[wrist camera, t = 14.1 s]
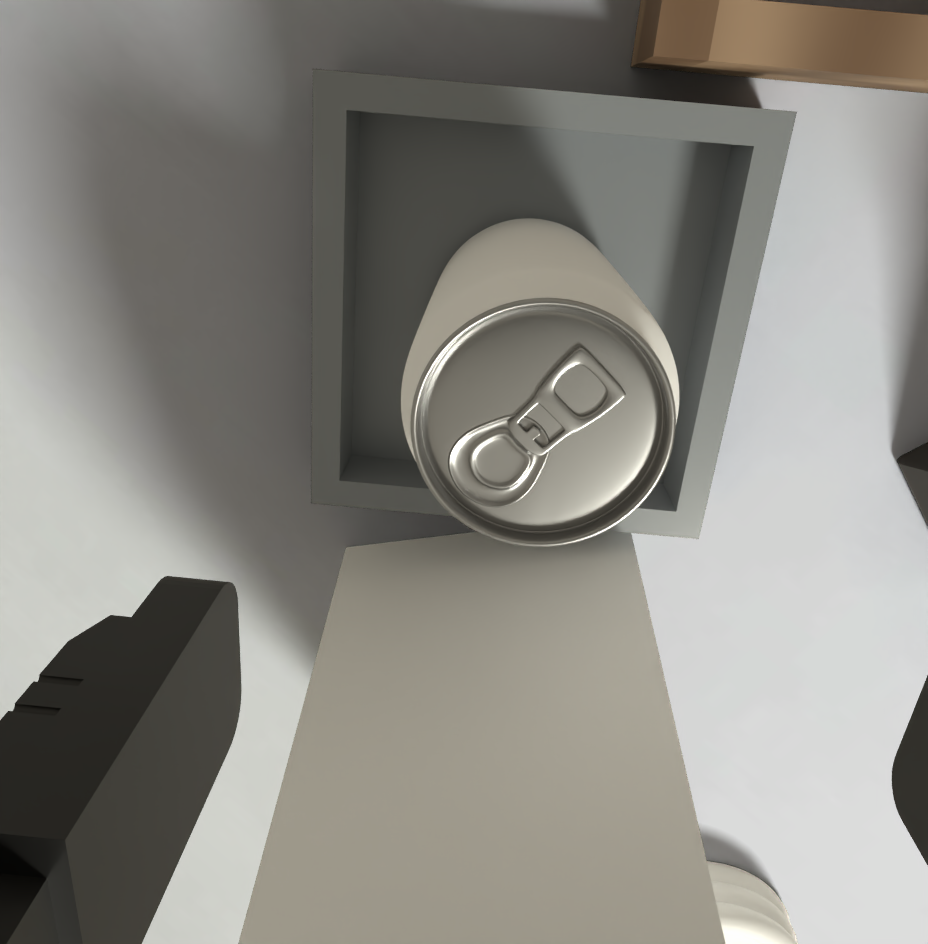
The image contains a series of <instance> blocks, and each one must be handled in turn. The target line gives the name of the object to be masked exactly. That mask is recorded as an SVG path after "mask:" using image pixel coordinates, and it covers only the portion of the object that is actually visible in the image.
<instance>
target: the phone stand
mask: <svg viewBox="0 0 928 944" xmlns="http://www.w3.org/2000/svg"><path fill="white" fill-rule="evenodd" d="M897 462H898V464H899V466H900V468H901V470H902V472H903V474H904V476H905V479H906V481H907V483H908V485H909V487H910V489H911V491H912V493H913V495H914V497H915V499H916V502H917V504H918V506H919V508H920V510H921V512H922V514H923V516H924V518H925V520H926V522H927V525H928V443H926V444H924V445H922V446H920V447H918V448H916V449H914V450H912V451H910V452H908V453H906V454H904V455H902V456H900V457H899V458H898V461H897Z"/></svg>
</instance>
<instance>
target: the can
mask: <svg viewBox="0 0 928 944" xmlns="http://www.w3.org/2000/svg"><path fill="white" fill-rule="evenodd" d="M678 411H679V381H678V374H677V369H676V365H675V361H674V358H673V355H672V352H671V349H670V346H669V344H668V342H667V339H666V337H665V335H664V333H663V332H662V330H661V328H660V327H659V325H658V323H657V322H656V320H655V319H654V317H653V316H652V314H651V313H650V312H649V310H648V309H647V308H646V306H645V305H644V304H643V303H642V301H641V300H640V299H639V297H638V296H637V295H636V294H635V293H634V291H633V290H632V289H631V288H630V286H629V285H628V284H627V283H626V282H625V280H624V279H623V278H622V277H621V276H620V274H619V273H618V272H617V271H616V270H615V268H614V267H613V266H612V265H611V264H610V263H609V261H608V260H607V259H606V258H605V257H604V256H603V254H602V253H601V252H600V251H599V250H598V249H597V248H596V247H595V246H594V245H593V244H592V243H591V242H590V241H588V240H587V239H586V238H585V237H584V236H582V235H581V234H579V233H578V232H576V231H574V230H573V229H571V228H569V227H567V226H564V225H562V224H559V223H556V222H552V221H548V220H543V219H534V218H523V219H514V220H508V221H504V222H501V223H498V224H495V225H492V226H490V227H488V228H486V229H484V230H482V231H480V232H479V233H477V234H476V235H474V236H473V237H471V238H470V239H469V240H468V241H466V242H465V243H464V244H463V245H462V246H461V247H460V248H459V249H458V250H457V251H456V253H455V254H454V255H453V256H452V258H451V259H450V260H449V262H448V264H447V265H446V267H445V269H444V270H443V272H442V274H441V276H440V278H439V280H438V283H437V285H436V287H435V290H434V292H433V294H432V297H431V299H430V301H429V304H428V306H427V308H426V311H425V313H424V316H423V318H422V321H421V323H420V326H419V328H418V330H417V333H416V336H415V338H414V341H413V344H412V346H411V349H410V352H409V355H408V358H407V362H406V365H405V369H404V374H403V379H402V388H401V414H402V422H403V427H404V432H405V436H406V439H407V442H408V445H409V448H410V450H411V452H412V455H413V457H414V459H415V461H416V462H417V465H418V468H419V470H420V473H421V475H422V477H423V479H424V481H425V483H426V484H427V486H428V488H429V489H430V491H431V492H432V494H433V495H434V496H435V498H436V499H437V500H438V501H439V503H440V504H441V505H442V506H443V507H444V508H445V509H446V510H447V511H448V512H449V513H450V514H451V515H453V516H454V517H455V518H456V519H457V520H459V521H460V522H462V523H463V524H464V525H466V526H468V527H469V528H471V529H473V530H474V531H476V532H478V533H480V534H482V535H485V536H487V537H489V538H492V539H495V540H498V541H501V542H505V543H509V544H513V545H519V546H528V547H552V546H561V545H567V544H572V543H576V542H579V541H583V540H586V539H589V538H591V537H594V536H596V535H598V534H601V533H603V532H605V531H607V530H608V529H610V528H612V527H614V526H615V525H617V524H618V523H620V522H621V521H623V520H624V519H625V518H627V517H628V516H629V515H630V514H631V513H633V512H634V511H635V510H636V509H637V508H638V507H639V506H640V505H641V504H642V503H643V502H644V501H645V500H646V498H647V497H648V496H649V495H650V493H651V492H652V491H653V489H654V488H655V486H656V485H657V483H658V482H659V480H660V478H661V476H662V474H663V472H664V470H665V468H666V466H667V463H668V461H669V458H670V455H671V452H672V448H673V443H674V438H675V429H676V422H677V417H678Z"/></svg>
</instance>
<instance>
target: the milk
mask: <svg viewBox="0 0 928 944" xmlns="http://www.w3.org/2000/svg"><path fill="white" fill-rule="evenodd" d="M238 944H726V943H725V939H724V934H723V930H722V926H721V921H720V917H719V913H718V908H717V904H716V900H715V895H714V891H713V887H712V882H711V878H710V874H709V869H708V865H707V861H706V856H705V852H704V848H703V843H702V839H701V835H700V830H699V826H698V822H697V817H696V813H695V809H694V804H693V800H692V795H691V791H690V787H689V782H688V778H687V774H686V769H685V765H684V761H683V756H682V752H681V748H680V743H679V739H678V735H677V730H676V726H675V722H674V717H673V713H672V709H671V704H670V700H669V696H668V691H667V687H666V683H665V678H664V674H663V670H662V665H661V661H660V657H659V652H658V648H657V643H656V639H655V635H654V630H653V626H652V622H651V617H650V613H649V609H648V604H647V600H646V596H645V591H644V587H643V583H642V578H641V574H640V570H639V565H638V561H637V557H636V552H635V548H634V544H633V539H632V535H631V533H628V532H617V531H605V532H603V533H601V534H598V535H596V536H594V537H591V538H589V539H586V540H583V541H579V542H576V543H572V544H567V545H561V546H552V547H528V546H519V545H513V544H509V543H505V542H501V541H498V540H495V539H492V538H489V537H487V536H485V535H482V534H480V533H478V532H470V533H462V534H454V535H445V536H437V537H428V538H420V539H412V540H403V541H395V542H386V543H378V544H370V545H361V546H353V547H346V550H345V553H344V557H343V561H342V564H341V568H340V572H339V575H338V579H337V583H336V586H335V590H334V594H333V597H332V601H331V605H330V608H329V612H328V616H327V620H326V623H325V627H324V631H323V634H322V638H321V642H320V645H319V649H318V653H317V656H316V660H315V664H314V667H313V671H312V675H311V678H310V682H309V686H308V689H307V693H306V697H305V701H304V704H303V708H302V712H301V715H300V719H299V723H298V726H297V730H296V734H295V737H294V741H293V745H292V748H291V752H290V756H289V759H288V763H287V767H286V770H285V774H284V778H283V781H282V785H281V789H280V793H279V796H278V800H277V804H276V807H275V811H274V815H273V818H272V822H271V826H270V829H269V833H268V837H267V840H266V844H265V848H264V851H263V855H262V859H261V862H260V866H259V870H258V874H257V877H256V881H255V885H254V888H253V892H252V896H251V899H250V903H249V907H248V910H247V914H246V918H245V921H244V925H243V929H242V932H241V936H240V940H239V943H238Z"/></svg>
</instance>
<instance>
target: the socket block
mask: <svg viewBox="0 0 928 944" xmlns="http://www.w3.org/2000/svg"><path fill="white" fill-rule="evenodd" d="M631 67H639V68H650V69H661V70H673V71H684V72H695V73H707V74H718V75H729V76H740V77H752V78H763V79H774V80H786V81H797V82H808V83H819V84H831V85H842V86H853V87H864V88H876V89H887V90H898V91H910V92H921V93H928V15H920V14H909V13H897V12H886V11H875V10H863V9H852V8H840V7H829V6H818V5H806V4H795V3H784V2H772V1H761V0H641V1H640V8H639V15H638V22H637V28H636V35H635V42H634V48H633V55H632V62H631Z"/></svg>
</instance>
